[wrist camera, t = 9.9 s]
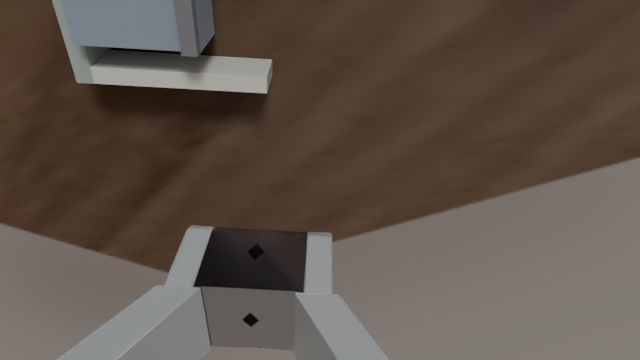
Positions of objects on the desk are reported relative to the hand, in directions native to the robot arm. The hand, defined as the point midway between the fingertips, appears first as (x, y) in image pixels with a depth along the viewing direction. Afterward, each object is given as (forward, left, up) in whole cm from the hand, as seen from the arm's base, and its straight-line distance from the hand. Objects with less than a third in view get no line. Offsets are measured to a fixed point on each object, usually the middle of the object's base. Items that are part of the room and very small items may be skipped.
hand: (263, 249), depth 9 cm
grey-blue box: (+10, 0, -24) cm, 26 cm away
